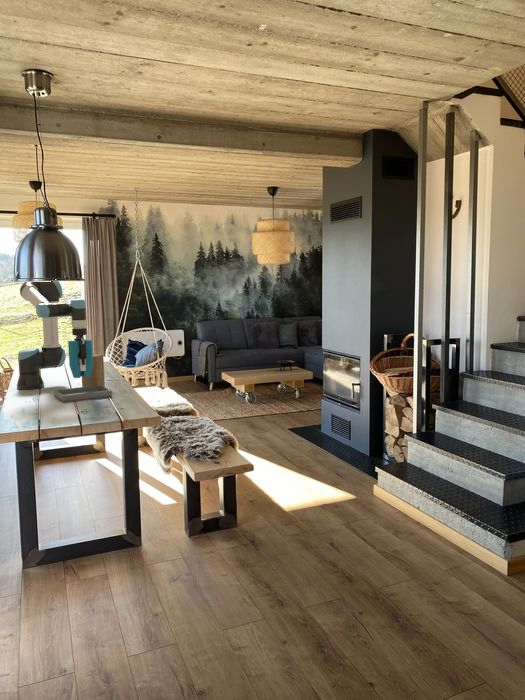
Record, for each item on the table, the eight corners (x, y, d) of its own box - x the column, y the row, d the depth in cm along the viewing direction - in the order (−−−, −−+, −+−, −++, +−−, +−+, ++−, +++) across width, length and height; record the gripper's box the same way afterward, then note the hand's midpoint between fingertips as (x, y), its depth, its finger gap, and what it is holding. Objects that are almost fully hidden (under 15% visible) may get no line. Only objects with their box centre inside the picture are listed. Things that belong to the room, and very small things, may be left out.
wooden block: (97, 390, 325) (95, 356, 323) (81, 389, 327) (79, 356, 325) (105, 387, 335) (103, 354, 332) (90, 386, 337) (88, 353, 334)
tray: (54, 396, 309) (53, 390, 309) (100, 390, 323) (100, 385, 323) (63, 402, 292) (63, 396, 292) (112, 396, 307) (111, 390, 306)
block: (92, 375, 311) (90, 339, 309) (93, 376, 307) (92, 340, 304) (69, 377, 306) (67, 340, 304) (71, 378, 302) (68, 341, 299)
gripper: (67, 327, 309) (70, 368, 312) (77, 329, 293) (79, 372, 296) (81, 326, 313) (83, 367, 316) (91, 328, 298) (93, 371, 300)
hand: (81, 369), depth 306 cm, fingers closed on block, 5 cm apart
